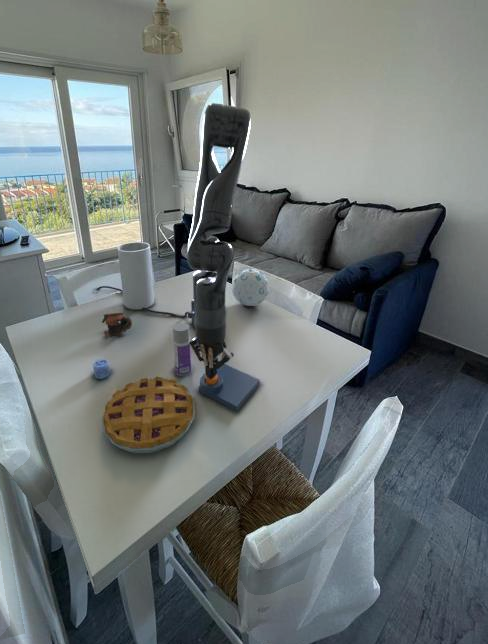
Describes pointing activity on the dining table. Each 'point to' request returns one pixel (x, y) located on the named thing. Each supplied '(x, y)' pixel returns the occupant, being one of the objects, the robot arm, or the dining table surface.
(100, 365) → the decorative dice
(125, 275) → the cylinder vase
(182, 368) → the container
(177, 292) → the dining table surface
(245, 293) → the puzzle ball
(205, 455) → the dining table surface
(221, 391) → the scale
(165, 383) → the pie
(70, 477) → the dining table surface
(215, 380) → the button
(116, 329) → the pottery mug
